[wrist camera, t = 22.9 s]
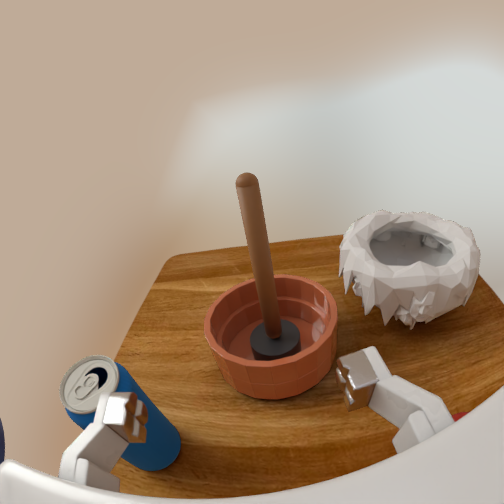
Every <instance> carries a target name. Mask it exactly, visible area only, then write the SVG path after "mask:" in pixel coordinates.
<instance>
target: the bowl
mask: <svg viewBox="0 0 504 504" xmlns="http://www.w3.org/2000/svg"><path fill="white" fill-rule="evenodd" d="M343 236H344V239H343V240H342V242H341V244H340V246H339V247H340V267H339V277H341V276H342V275H343V277H344V285H345V294H346V293H347V291H348V288H349V286H350V284H351V281H352V282H353V283H354V286H353V290H354V292H355V295H356V296H362V307H363V305H364V309H365V315H367V314H369V313H370V311H371V310H372V308H373V306H374V305H375V306H377V307H378V308H380V309H381V313H382V317H383V321H384V325H386V324H387V322H388V321H389V320H390V318H391V317H392V316H395V320H396V321H397V319H398V318H399V319H400V320H401V321H402V322H403V323H404V324H405V325H410V330H411V329H413V327H414V325H415V323H416V321H417V322H423V321H425V324H426V323H427V322H429V321H431V320H432V319H435V318H437V317H439V316H441V315H443V314H445V313H447V312H449V311H451V310H453V309H454V308H456V307H458V306H460V305H463V306H465V304H466V302H467V300H468V299H469V297H470V295H471V293H472V291H473V288H474V286H475V283H476V280H477V277H478V273H479V262H480V250H479V248H478V247H477V245H476V242H475V239H474V236H473V233H472V230H471V229H470V228H466V227H462V226H460V225H459V224H457V223H456V222H454V221H449V220H443V219H442V218H439V217H437V216H435V215H433V214H430V213H426V212H420V213H416V212H410V213H402V212H401V213H394V214H393V213H391V212H387V211H384V210H380V211H377V212H374V213H371V214H368V215H365V216H363V217H361V218H360V219H358V220H356V221H354V222H353V224H352V225H351V226H350V228H349V229H348V230H347V232H346V233H344V234H343Z"/></svg>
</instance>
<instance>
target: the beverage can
mask: <svg viewBox="0 0 504 504" xmlns="http://www.w3.org/2000/svg"><path fill="white" fill-rule="evenodd" d="M59 391H60V392H59V393H60V399H61V402H62V404H63V405H64V406H65V409H66V411H67V413H68V415H69V416H70V418H71V419H72V420H73V421H74V422H75V423H76V424H77V425H79V426H80V427H81V428H82V429H83V430H85V429H86V428H87V426H88V425H89V424H90V423H93V422H94V417H95V413H96V409H97V405H98V401H99V397H100V395H101V393H102V392H134V393H135V394H136V395H137V396H138V397H137V399H138V400H140V401H142V402H143V403H144V404H145V406H146V408H147V411H148V421H147V423H146V424H145V425H144V426H145V428H146V430H147V433H146V443H129V445H128V446H127V448H126V449H125V451H124V452H123V454H122V455H121V457H122V458H123V459H125V460H126V461H128V462H129V463H131V464H133V465H134V466H136V467H138V468H140V469H142V470H147V471H156V470H161V469H163V468H166V467H167V466H169V465H170V464H171V463H172V462H173V461H174V460H175V459H176V458H177V456H178V454H179V451H180V447H181V439H180V436H179V433H178V431H177V429H176V428H175V427H174V426H173V425H172V424H171V423H170V422H169V421H168V419H167V418H166V417H165V416H164V415H163V414H162V413H161V412H160V411H159V409H158V408H157V407H156V406H155V405H154V404H153V403H152V401H151V400H150V399H149V398H148V397H147V395H146V394H145V393H144V392H143V391H142V389H141V388H140V387H139V386H138V384H137V383H136V382H135V380H134V379H133V378H132V377H131V375H130V374H129V373H128V371H127V370H126V369H125V368H124V367H123V366H121V365H120V364H118V363H116V362H114V361H113V360H112V359H110V358H109V357H107V356H103V355H92V356H89V357H86V358H83V359H81V360H80V361H78V362H77V363H75V364H74V365H73V366H72V367H71V368H70V369H69V370H68V371H67V372H66V374H65V375H64V377H63V379H62V381H61V384H60V390H59Z"/></svg>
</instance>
